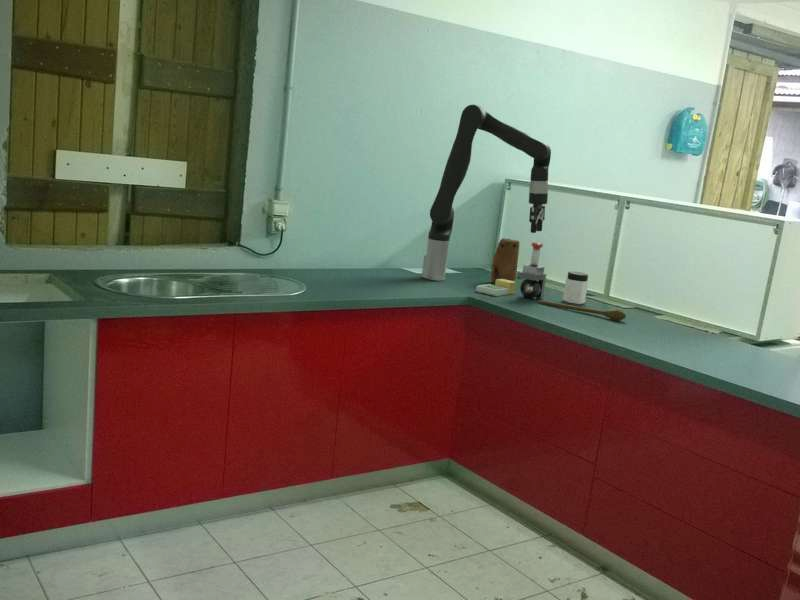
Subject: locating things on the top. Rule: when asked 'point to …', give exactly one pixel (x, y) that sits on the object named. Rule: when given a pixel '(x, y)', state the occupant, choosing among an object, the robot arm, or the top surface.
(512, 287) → the block
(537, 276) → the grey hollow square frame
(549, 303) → the brown wooden spoon
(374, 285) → the top surface
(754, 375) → the top surface
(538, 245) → the pin
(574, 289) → the jar
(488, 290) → the tray
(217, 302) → the top surface
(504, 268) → the block
